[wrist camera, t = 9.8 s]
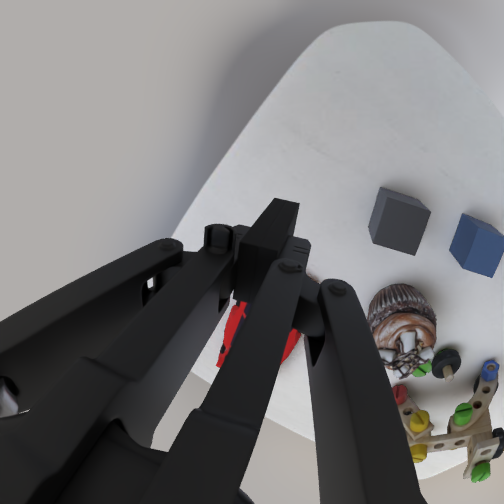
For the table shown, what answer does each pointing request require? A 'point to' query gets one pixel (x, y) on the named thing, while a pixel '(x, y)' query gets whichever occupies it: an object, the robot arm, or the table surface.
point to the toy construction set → (455, 418)
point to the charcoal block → (398, 221)
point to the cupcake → (402, 328)
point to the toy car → (235, 324)
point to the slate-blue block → (477, 246)
